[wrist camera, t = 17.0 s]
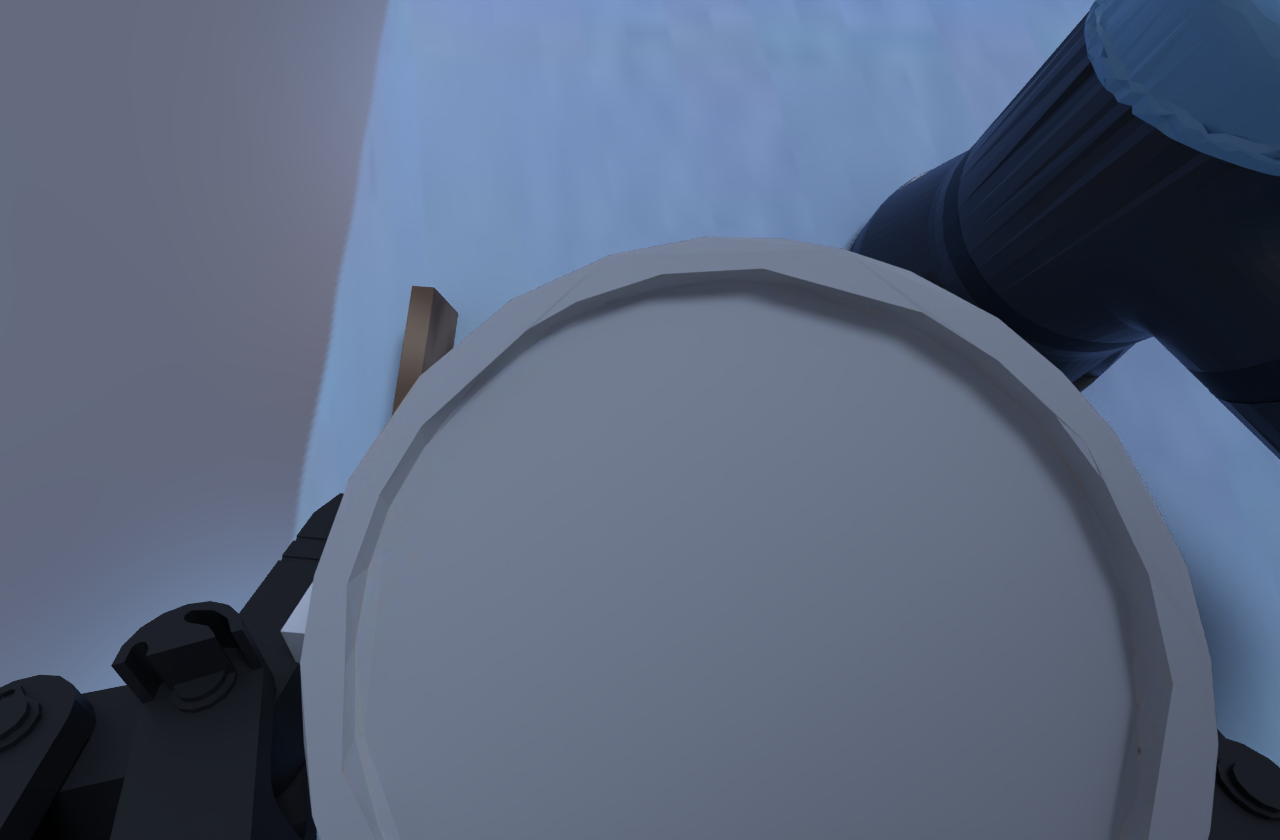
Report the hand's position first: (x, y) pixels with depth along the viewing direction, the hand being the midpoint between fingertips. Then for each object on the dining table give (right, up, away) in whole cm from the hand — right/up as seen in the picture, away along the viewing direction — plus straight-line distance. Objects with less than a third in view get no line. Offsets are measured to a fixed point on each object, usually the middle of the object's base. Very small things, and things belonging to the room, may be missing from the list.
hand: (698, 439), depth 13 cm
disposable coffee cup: (0, -4, +4) cm, 6 cm away
